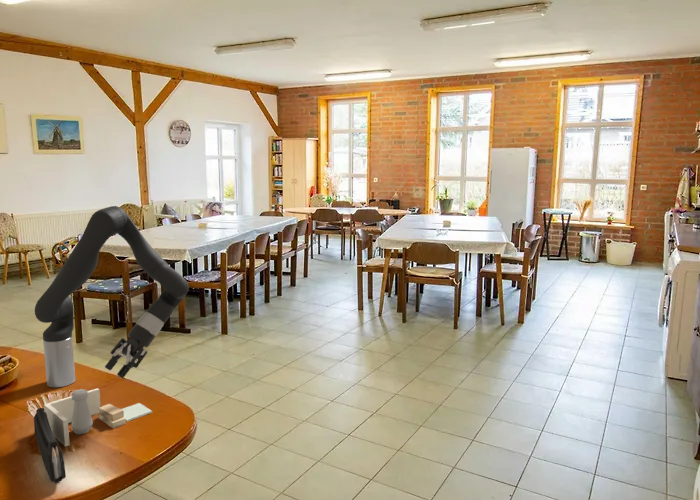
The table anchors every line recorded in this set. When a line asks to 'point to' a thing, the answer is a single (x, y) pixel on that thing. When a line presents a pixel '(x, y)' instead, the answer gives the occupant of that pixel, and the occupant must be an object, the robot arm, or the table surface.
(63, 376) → the robot arm
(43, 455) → the magazine
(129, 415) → the tile
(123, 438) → the table surface
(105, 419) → the block
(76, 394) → the salt shaker
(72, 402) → the bracket
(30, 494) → the table surface
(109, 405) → the offcut short
